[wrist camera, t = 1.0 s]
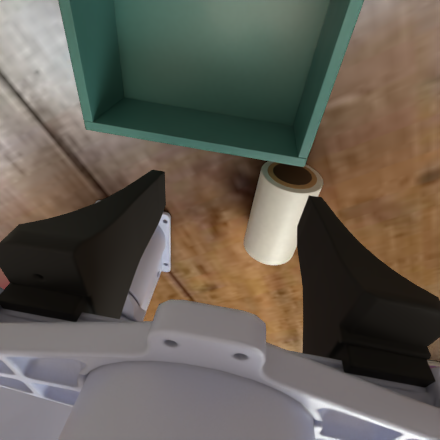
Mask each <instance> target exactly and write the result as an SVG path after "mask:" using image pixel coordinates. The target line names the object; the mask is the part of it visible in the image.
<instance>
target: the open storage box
mask: <svg viewBox="0 0 440 440" xmlns="http://www.w3.org/2000/svg"><path fill="white" fill-rule="evenodd" d="M58 1H59V6H60V10H61V15H62V20H63V25H64V29H65V34H66V39H67V43H68V48H69V53H70V58H71V62H72V67H73V72H74V76H75V81H76V86H77V90H78V95H79V100H80V105H81V109H82V114H83V119H84V123H85V128H86V130H92V131H97V132H103V133H109V134H115V135H121V136H126V137H132V138H138V139H144V140H150V141H155V142H161V143H167V144H173V145H179V146H184V147H190V148H196V149H202V150H208V151H213V152H219V153H225V154H231V155H237V156H242V157H248V158H254V159H260V160H266V161H271V162H277V163H283V164H289V165H294V166H300V167H304V166H305V164H306V161H307V158H308V155H309V152H310V150H311V147H312V144H313V141H314V138H315V136H316V133H317V130H318V127H319V124H320V122H321V119H322V116H323V113H324V110H325V108H326V105H327V102H328V99H329V97H330V94H331V91H332V88H333V85H334V83H335V80H336V77H337V74H338V71H339V69H340V66H341V63H342V60H343V58H344V55H345V52H346V49H347V46H348V44H349V41H350V38H351V35H352V32H353V30H354V27H355V24H356V21H357V19H358V16H359V13H360V10H361V7H362V5H363V2H364V0H58Z"/></svg>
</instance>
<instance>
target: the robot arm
mask: <svg viewBox="0 0 440 440" xmlns="http://www.w3.org/2000/svg"><path fill="white" fill-rule="evenodd" d="M165 205H166V200H165V172H163V171H156V170H152V171H150V172H148V173H147V174H145V175H144V176H142V177H141V178H139V179H138V180H136V181H135V182H133V183H132V184H130V185H128V186H127V187H125V188H124V189H122V190H120V191H118V192H117V193H115V194H113V195H111V196H109V197H107V198H105V199H103V200H97V201H96V202H95V204H92V205H90V206H87V207H84V208H82V209H79V210H76V211H73V212H70V213H67V214H64V215H60V216H57V217H53V218H49V219H45V220H40V221H35V222H30V223H25V224H19V225H18V226H17V227H16V228H15V229H14V230H13V231H12V232H11V233H10V234H8V235H7V236H6V237H5V238H4V239H3V240H2V241H1V242H0V268H1V269H2V271H3V272H4V274H5V276H6V277H7V278H8V280H9V282H10V284H9V285H8V286H7V287H6V288H5V289H2V288H0V440H440V367H434V368H430V366H429V364H428V361H427V359H429V358H431V354H430V352H429V350H428V347H427V346H429V345H430V344H431V343H433V342H434V341H435V340H437V339H438V338H439V337H440V301H439V299H438V297H436V296H435V295H433V294H431V293H429V292H428V291H426V290H424V289H422V288H421V287H419V286H417V285H415V284H414V283H412V282H410V281H409V280H407V279H406V278H404V277H403V276H401V275H400V274H398V273H397V272H395V271H394V270H392V269H391V268H390V267H388V266H387V265H386V264H384V263H383V262H382V261H380V260H379V259H378V258H377V257H375V256H374V255H373V254H372V253H371V252H370V251H369V250H367V249H366V248H365V247H364V246H363V245H362V244H361V243H360V242H359V241H358V240H357V239H356V238H355V237H354V236H353V235H352V234H351V233H350V232H349V231H348V230H347V228H346V227H345V226H344V225H343V224H342V223H341V221H340V220H339V219H338V218H337V216H336V215H335V214H334V213H333V211H332V210H331V209H330V207H329V206H328V205H327V204H326V202H325V201H324V200H323V199H322V197H316V196H310V195H309V197H308V199H307V202H306V204H305V207H304V210H303V212H302V215H301V217H300V220H299V223H298V225H297V248H298V255H299V262H300V269H301V276H302V285H303V353H299V352H294V351H288V350H285V349H282V348H280V347H277V346H275V345H272V344H269V343H267V342H266V325H265V323H264V322H263V321H262V320H261V319H260V318H258V317H257V316H256V315H254V314H251V313H249V312H246V311H242V310H236V309H231V308H225V307H220V306H214V305H209V304H203V303H198V302H192V301H187V300H169V301H166V302H164V303H161V304H159V306H158V308H157V311H156V314H155V316H154V319H153V321H144V322H143V319H144V317H145V314H146V310H147V308H148V305H149V303H150V300H151V298H152V295H153V292H154V290H155V287H156V284H157V282H158V279H159V277H160V274H161V271H164V272H169V271H170V269H171V216H170V214H169V213H167V212H163V211H164V208H165ZM165 220H167V221H165Z"/></svg>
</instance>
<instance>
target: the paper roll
mask: <svg viewBox="0 0 440 440" xmlns="http://www.w3.org/2000/svg"><path fill="white" fill-rule="evenodd" d="M322 186H323V179H322V177H321V176H320V174H319V173H318V172H317V171H316V170H314V169H313V168H311V167H310V166H308V165H306V164H305V166H304V167H300V166H294V165H289V164H283V163H277V162H271V161H268V162H266V163H265V164H264V165H263V166H262V168H261V172H260V176H259V180H258V184H257V188H256V192H255V196H254V200H253V204H252V209H251V213H250V217H249V221H248V225H247V229H246V233H245V237H244V247H245V249H246V251H247V252H248V254H249V255H250V256H251V257H252V258H254V259H255V260H257V261H259V262H261V263H264V264H268V265H280V264H284V263H286V262H287V261H289V260H290V259H291V258H292V256H293V253H294V251H295V249H296V246H297V225H298V223H299V220H300V217H301V215H302V212H303V210H304V207H305V204H306V202H307V199H308V197H309V195H310V196H316V197H318V195H319V193H320V191H321V188H322Z"/></svg>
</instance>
